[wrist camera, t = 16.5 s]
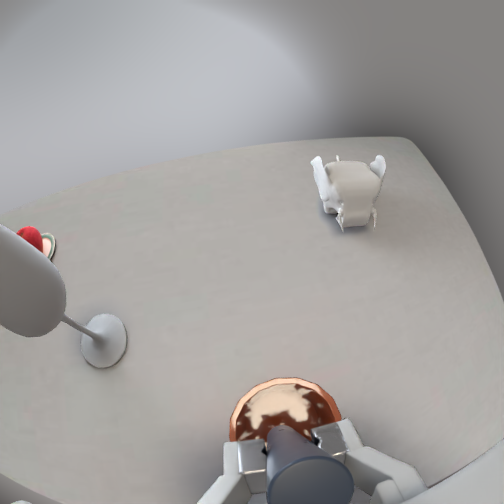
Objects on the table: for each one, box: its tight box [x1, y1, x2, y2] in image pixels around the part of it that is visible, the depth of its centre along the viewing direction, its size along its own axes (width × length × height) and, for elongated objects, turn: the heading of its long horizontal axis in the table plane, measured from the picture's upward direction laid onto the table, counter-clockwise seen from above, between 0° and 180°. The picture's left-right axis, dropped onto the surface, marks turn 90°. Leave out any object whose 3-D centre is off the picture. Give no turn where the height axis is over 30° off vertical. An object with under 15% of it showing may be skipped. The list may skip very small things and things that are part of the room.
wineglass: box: [0, 224, 127, 368], centre depth 22 cm, size 8×8×21 cm
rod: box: [267, 425, 354, 504], centre depth 9 cm, size 2×2×12 cm
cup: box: [229, 378, 341, 450], centre depth 21 cm, size 8×8×9 cm
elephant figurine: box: [310, 155, 386, 233], centre depth 35 cm, size 10×12×9 cm
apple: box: [17, 226, 55, 260], centre depth 36 cm, size 8×8×6 cm
